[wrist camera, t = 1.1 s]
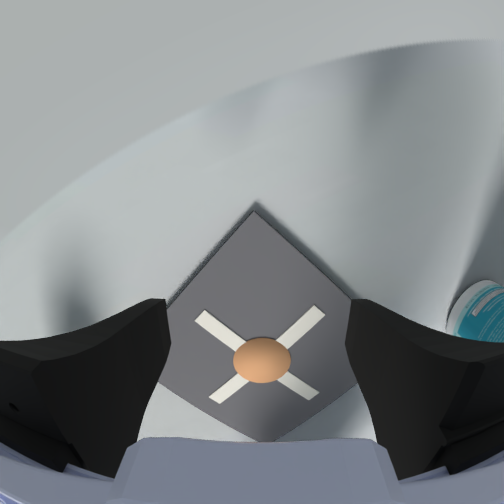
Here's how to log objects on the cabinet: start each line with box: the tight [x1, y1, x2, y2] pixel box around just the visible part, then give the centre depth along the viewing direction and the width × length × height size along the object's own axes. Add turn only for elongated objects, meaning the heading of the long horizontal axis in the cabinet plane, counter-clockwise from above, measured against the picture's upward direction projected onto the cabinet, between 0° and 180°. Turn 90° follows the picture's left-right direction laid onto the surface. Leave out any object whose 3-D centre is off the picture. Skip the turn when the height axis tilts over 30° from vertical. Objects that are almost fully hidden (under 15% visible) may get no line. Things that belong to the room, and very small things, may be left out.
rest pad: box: [158, 211, 358, 442], centre depth 22 cm, size 16×16×1 cm
